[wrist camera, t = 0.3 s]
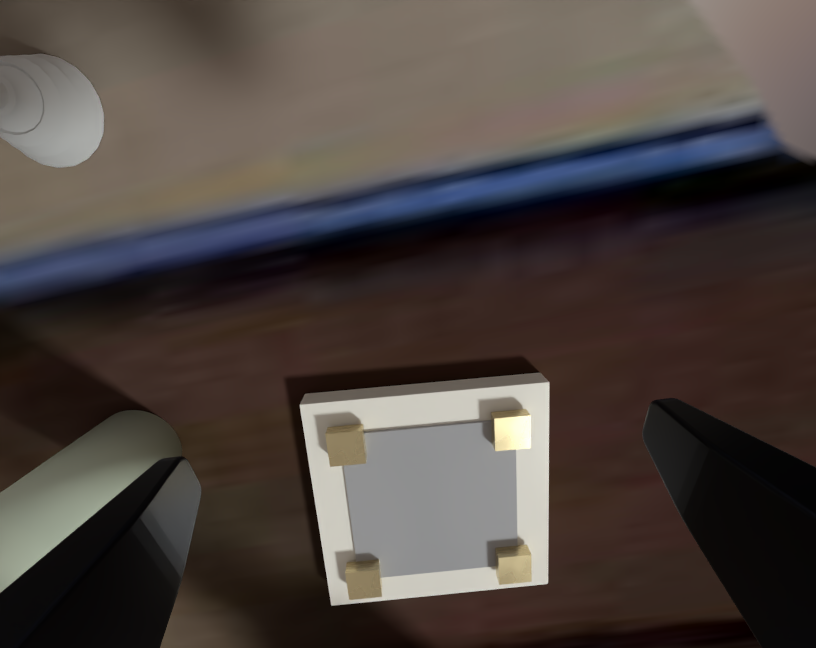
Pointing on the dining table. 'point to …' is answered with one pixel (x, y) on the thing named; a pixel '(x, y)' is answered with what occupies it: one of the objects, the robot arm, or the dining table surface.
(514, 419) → the display tile
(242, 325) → the dining table surface
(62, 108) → the chalice
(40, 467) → the sage green capsule
